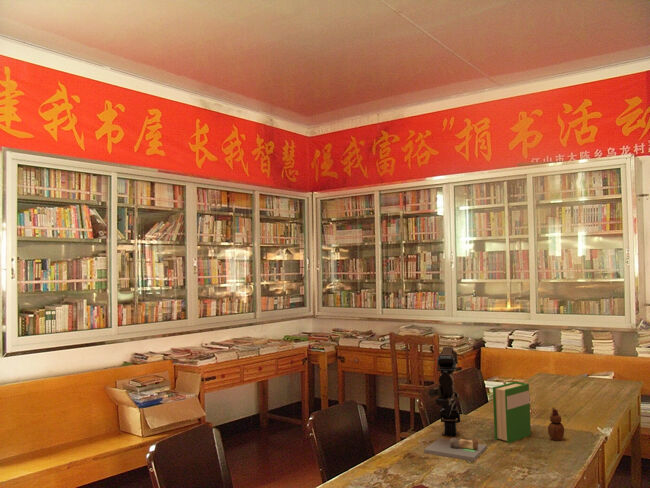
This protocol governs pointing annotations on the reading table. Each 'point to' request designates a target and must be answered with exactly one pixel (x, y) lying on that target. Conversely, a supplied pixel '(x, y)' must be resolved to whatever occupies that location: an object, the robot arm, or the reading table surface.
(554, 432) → the wooden figurine
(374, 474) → the reading table surface
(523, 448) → the reading table surface
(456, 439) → the lever
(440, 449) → the dial plate
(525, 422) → the hardback book
